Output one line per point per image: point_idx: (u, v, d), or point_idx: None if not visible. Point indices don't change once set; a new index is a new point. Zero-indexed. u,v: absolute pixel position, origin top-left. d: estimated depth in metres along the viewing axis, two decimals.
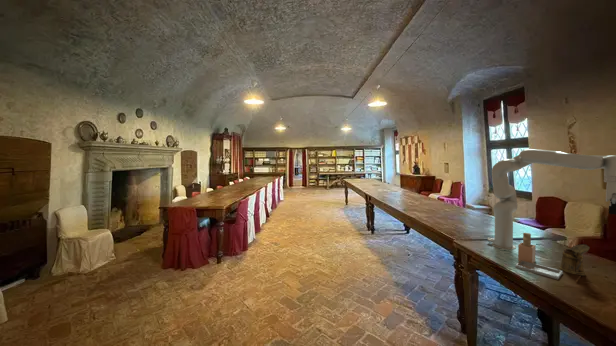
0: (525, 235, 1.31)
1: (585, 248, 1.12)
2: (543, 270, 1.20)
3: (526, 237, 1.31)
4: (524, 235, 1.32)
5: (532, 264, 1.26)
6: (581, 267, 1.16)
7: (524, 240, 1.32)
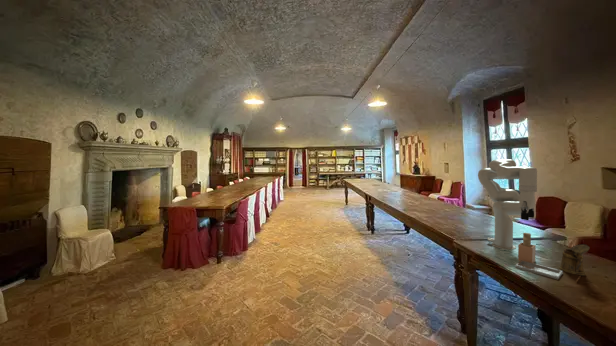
0: (525, 235, 1.31)
1: (585, 248, 1.12)
2: (543, 270, 1.20)
3: (526, 237, 1.31)
4: (524, 235, 1.32)
5: (532, 264, 1.26)
6: (581, 267, 1.16)
7: (524, 240, 1.32)
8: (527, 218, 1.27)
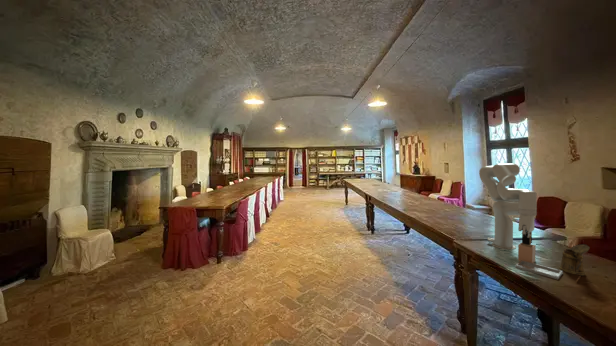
0: None
1: (585, 248, 1.12)
2: (543, 270, 1.20)
3: None
4: None
5: (532, 264, 1.26)
6: (581, 267, 1.16)
7: None
8: (528, 243, 1.30)
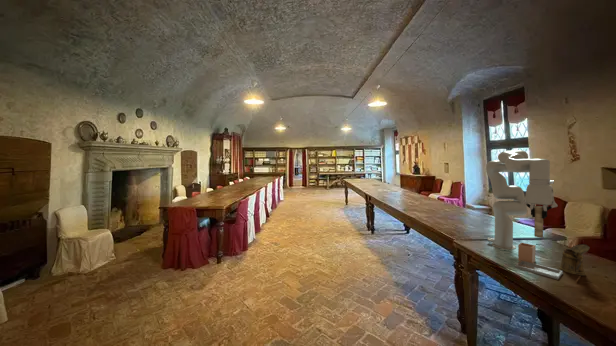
0: None
1: (585, 248, 1.12)
2: (543, 270, 1.20)
3: None
4: None
5: (532, 264, 1.26)
6: (581, 267, 1.16)
7: None
8: (532, 215, 1.21)
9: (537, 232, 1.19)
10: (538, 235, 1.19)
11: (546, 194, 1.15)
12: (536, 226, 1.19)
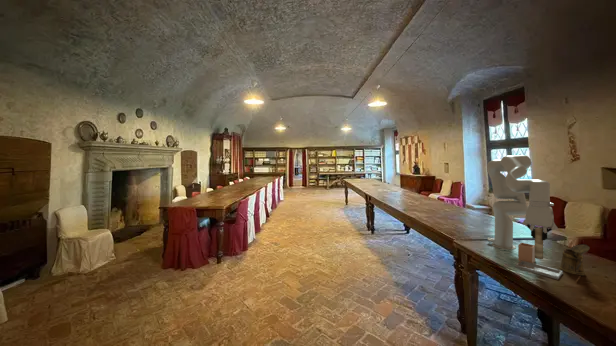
0: None
1: (585, 248, 1.12)
2: (543, 270, 1.20)
3: None
4: None
5: (532, 264, 1.26)
6: (581, 267, 1.16)
7: None
8: (532, 236, 1.21)
9: (538, 253, 1.19)
10: (538, 256, 1.19)
11: (546, 216, 1.15)
12: (536, 247, 1.20)
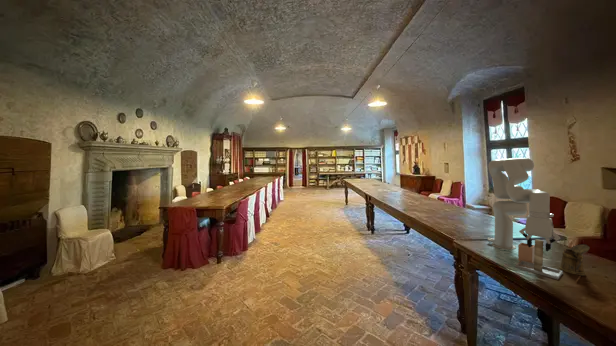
0: None
1: (585, 248, 1.12)
2: (543, 270, 1.20)
3: None
4: None
5: (532, 264, 1.26)
6: (581, 267, 1.16)
7: None
8: None
9: (537, 265, 1.20)
10: (537, 269, 1.20)
11: (546, 227, 1.16)
12: (536, 260, 1.20)
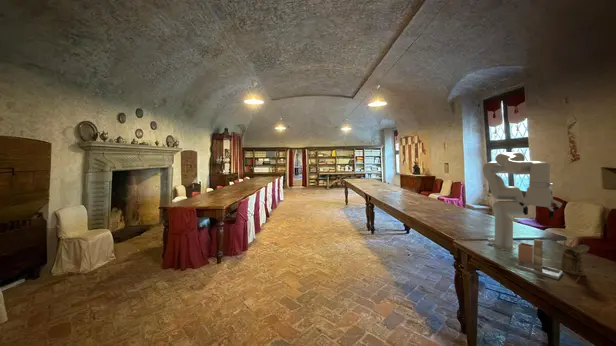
0: None
1: (585, 248, 1.12)
2: (543, 270, 1.20)
3: (534, 243, 1.22)
4: None
5: (532, 264, 1.26)
6: (581, 267, 1.16)
7: None
8: None
9: (537, 265, 1.20)
10: (537, 269, 1.20)
11: (545, 196, 1.19)
12: (535, 260, 1.20)
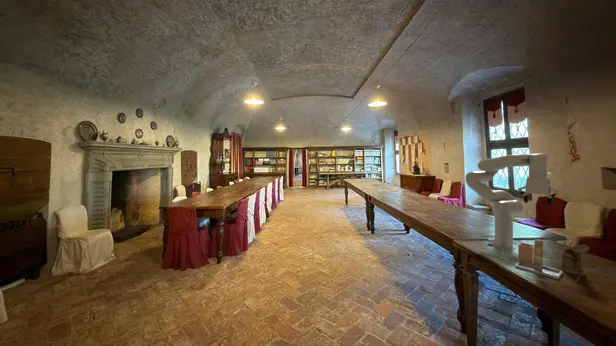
0: None
1: (585, 248, 1.12)
2: (543, 270, 1.20)
3: None
4: None
5: (532, 264, 1.26)
6: (581, 267, 1.16)
7: None
8: None
9: (537, 265, 1.20)
10: (537, 269, 1.20)
11: (544, 185, 1.30)
12: (536, 259, 1.20)
